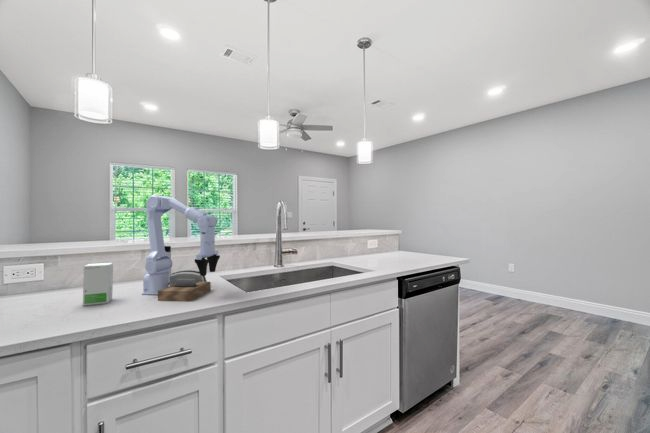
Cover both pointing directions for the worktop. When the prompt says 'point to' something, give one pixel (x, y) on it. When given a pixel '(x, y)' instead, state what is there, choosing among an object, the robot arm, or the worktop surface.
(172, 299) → the slotted tan panel
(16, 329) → the worktop surface
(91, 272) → the skincare box
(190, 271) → the grey arched slab
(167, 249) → the travel mug
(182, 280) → the grey flat-faced block
